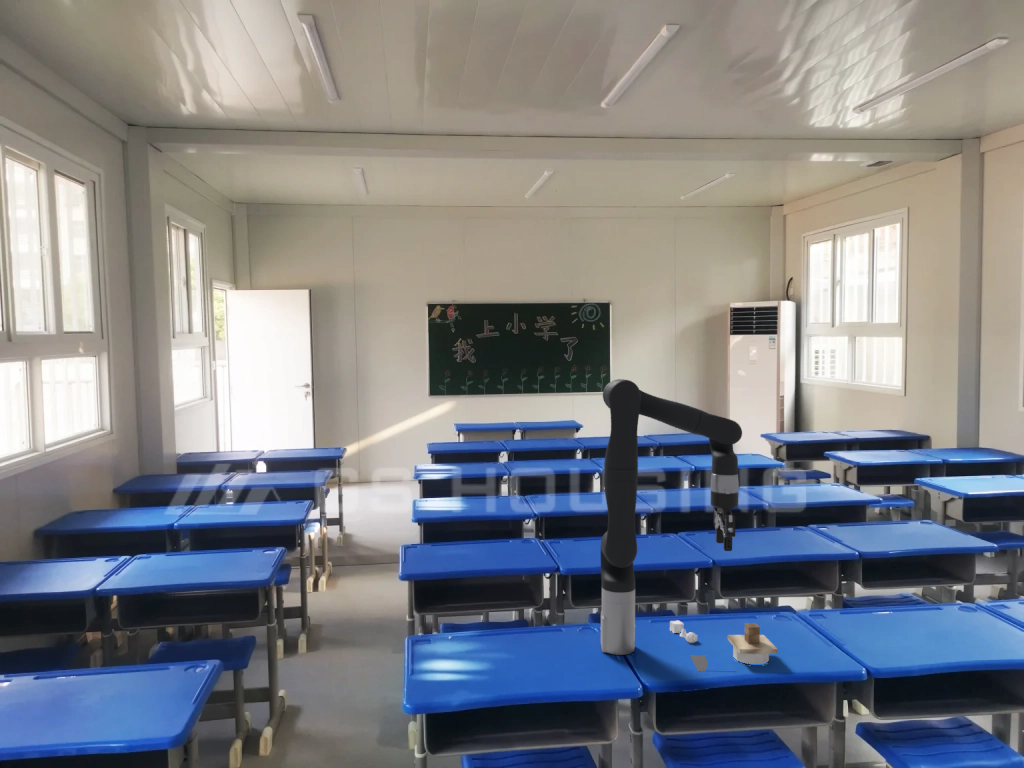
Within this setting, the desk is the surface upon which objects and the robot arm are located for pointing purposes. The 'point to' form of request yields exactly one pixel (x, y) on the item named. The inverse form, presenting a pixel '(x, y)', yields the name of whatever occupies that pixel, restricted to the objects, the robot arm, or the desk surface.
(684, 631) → the game pieces
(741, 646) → the lid
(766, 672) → the desk surface
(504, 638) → the desk surface
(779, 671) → the desk surface
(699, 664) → the mat
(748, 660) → the bowl
